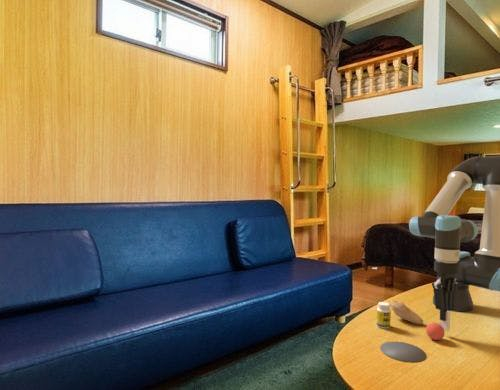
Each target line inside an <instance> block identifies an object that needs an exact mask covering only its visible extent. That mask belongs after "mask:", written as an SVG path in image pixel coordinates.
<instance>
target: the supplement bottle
mask: <svg viewBox="0 0 500 390" xmlns="http://www.w3.org/2000/svg"><path fill="white" fill-rule="evenodd" d="M390 308H391V305H390V303H389V302H386V301H379V302H378V304H377V308H376V327H377V328H380V329H385V330H387V329H390V328H391V316H392V315H391V313H392V312H391V309H390Z"/></svg>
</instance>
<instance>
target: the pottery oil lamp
mask: <svg viewBox="0 0 500 390" xmlns="http://www.w3.org/2000/svg"><path fill="white" fill-rule="evenodd" d="M389 304H390V308H391V309H392V311H393V313H394V315H395V316H397V317H399V318H400V319H402V320H403V321H405V320H406V321H408V322H410V323H413V324H414V325H419V326H420V325H423V324H424V320H423V319H422V317H420V316H419V315H418V314H417V313H416V312H415V311H413V309H411V308H410V307H409V306H406V305H405V304H404V303H403V302H402V301H399V300H394V299H392V301H391V302H390V303H389Z"/></svg>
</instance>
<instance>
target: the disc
mask: <svg viewBox="0 0 500 390" xmlns="http://www.w3.org/2000/svg"><path fill="white" fill-rule="evenodd" d="M379 348H380V350H381V352H382V353H383V354H384V355H385V356H387V357H389V358H391V359H394V360H396V361H400V362H404V363H405V362H407V363H419V362H420V363H421V362H422V361H425V360H426V359H427V354H426V352H425V351H424V349H422V348H421V347H418V345H414V344H412V343H407V342H404V341H387V342H383V343H382V344H381V345H380V347H379Z"/></svg>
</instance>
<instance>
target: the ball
mask: <svg viewBox="0 0 500 390" xmlns="http://www.w3.org/2000/svg"><path fill="white" fill-rule="evenodd" d="M425 333H426V335H427V337H429V338H430V339H432V340H433V341H440V340H442V339H443V338H444V336H445V330H444V329H443V327H442V326H441V325H440V323H439V322H431V323H428V324H427V326H426V328H425Z"/></svg>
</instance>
